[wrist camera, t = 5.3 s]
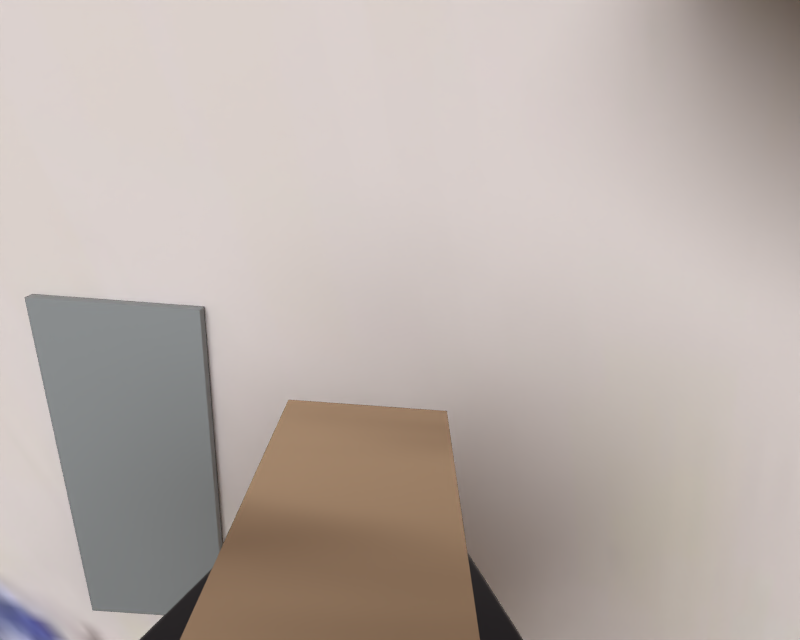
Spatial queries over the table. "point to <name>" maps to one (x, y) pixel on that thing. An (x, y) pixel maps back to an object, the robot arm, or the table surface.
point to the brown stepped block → (345, 534)
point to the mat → (132, 443)
